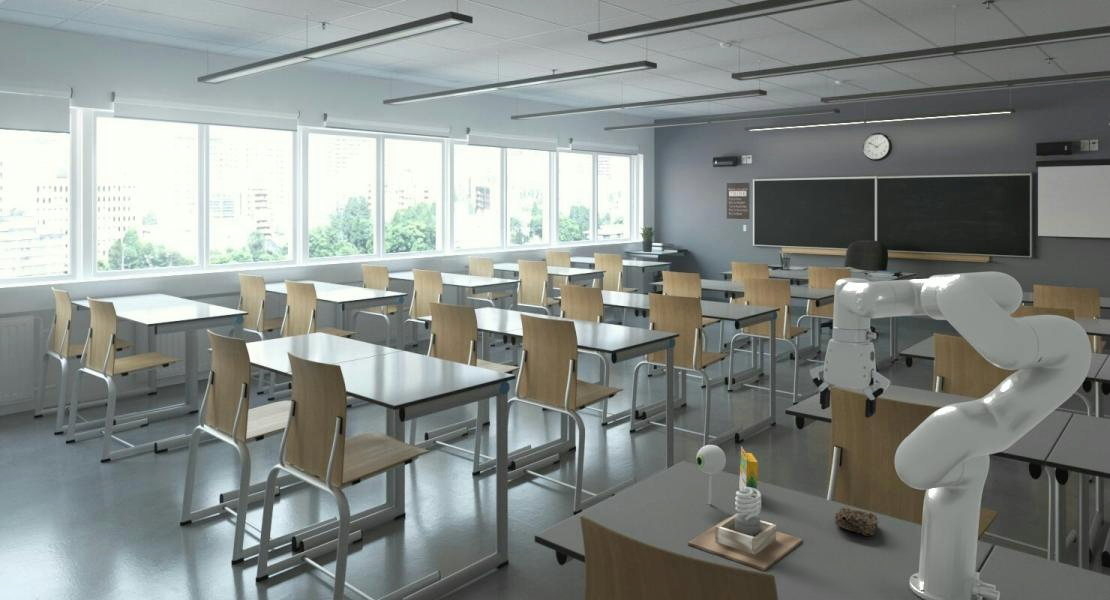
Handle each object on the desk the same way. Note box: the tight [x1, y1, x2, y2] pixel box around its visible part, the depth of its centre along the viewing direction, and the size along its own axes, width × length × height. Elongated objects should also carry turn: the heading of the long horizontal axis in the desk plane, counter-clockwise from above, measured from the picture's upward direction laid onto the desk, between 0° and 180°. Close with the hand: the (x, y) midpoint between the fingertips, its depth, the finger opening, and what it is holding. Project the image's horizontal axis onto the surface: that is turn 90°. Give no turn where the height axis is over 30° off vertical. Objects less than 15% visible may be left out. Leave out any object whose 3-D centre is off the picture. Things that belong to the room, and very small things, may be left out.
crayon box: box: [738, 445, 759, 498], centre depth 199 cm, size 7×3×12 cm, turn 179°
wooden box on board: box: [687, 512, 803, 572], centre depth 171 cm, size 18×18×4 cm
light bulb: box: [734, 487, 763, 537], centre depth 171 cm, size 6×6×12 cm
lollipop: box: [695, 444, 727, 505], centre depth 192 cm, size 7×7×15 cm
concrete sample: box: [834, 507, 879, 536], centre depth 179 cm, size 12×10×5 cm
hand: (846, 412), depth 172 cm, fingers open, 9 cm apart
